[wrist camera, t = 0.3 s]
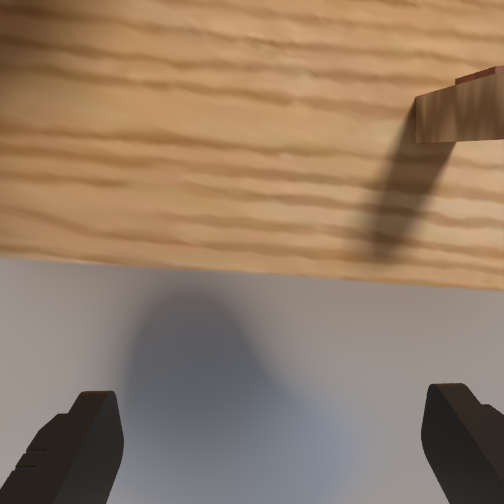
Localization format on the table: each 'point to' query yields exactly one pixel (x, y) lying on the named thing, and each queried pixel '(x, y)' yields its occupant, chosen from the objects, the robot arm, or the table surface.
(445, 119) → the tall wooden pillar
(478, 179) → the table surface
